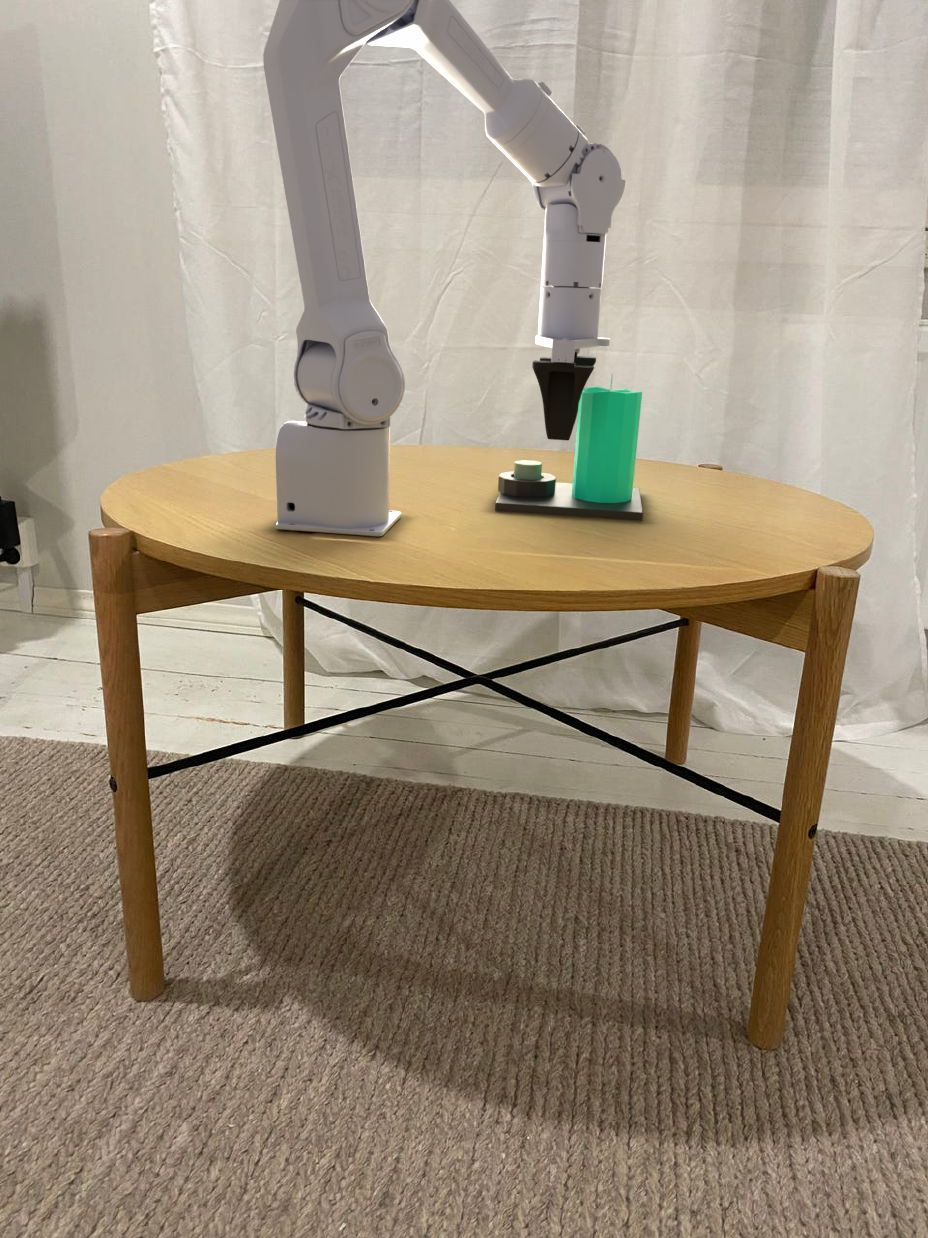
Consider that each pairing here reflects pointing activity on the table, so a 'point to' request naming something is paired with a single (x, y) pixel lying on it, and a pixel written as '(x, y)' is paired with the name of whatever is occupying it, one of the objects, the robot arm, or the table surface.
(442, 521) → the table surface
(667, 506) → the table surface
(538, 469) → the button
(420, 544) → the table surface
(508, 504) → the scale
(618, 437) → the candle
